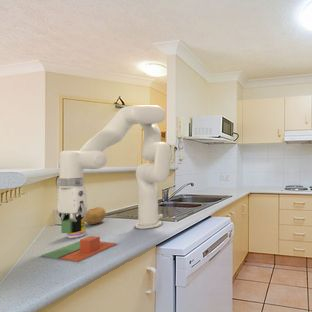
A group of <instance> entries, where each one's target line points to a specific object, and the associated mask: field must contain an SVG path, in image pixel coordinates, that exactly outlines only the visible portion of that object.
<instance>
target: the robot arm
mask: <svg viewBox="0 0 312 312" xmlns="http://www.w3.org/2000/svg"><path fill="white" fill-rule="evenodd" d="M166 117H167V116H166V111H165V110H164V108H163V107H162V106H160V105H151V104H149V105H147V104H132V105H127V106H123V107H121V108H119V110H117V112H116V113H115V114H114V116H113V117H112V118H111V119H110V120H109V121H108V123H107V124H106V125H105V126H104V127H103V128H102V129H101V130H100V131H98V132H96V133H95V134H94V135H93V136H92V137H91V138H89V139H88V140H87V141H86V142H85V143H84V144H83V145H82V146H81V148H80V149H79V150H62V151H60V152H59V156H58V159H59V161H58V164H59V165H58V172H59V174H58V178H59V179H58V180H59V181H58V183H59V184H58V191H57V200H56V208H57V209H56V211H55V212H56V214H57V215H58V216H59V218H60V221H64V220H68V219H70V214H72V215H73V221H74V222H72V233H75V232H79V231H81V220H82V219H83V217H84V216H85V215H86V214H87V211H88V197H87V190H86V186H84V182H85V181H84V170H99V169H102V168H103V167H105V166H106V165H107V163H108V157H107V154H105V153H104V152H103V151H105V150H106V149H107V148H109V147H112V146H114V145H116V144H118V143H120V142H122V140H123V138H124V137H126V135H127V133H128V132H129V131H130V129H132V127H133V126H134V125H138V124H139V125H140V127H141V129H142V130H143V140H142V148H141V158H142V159H143V160H144V161H148V162H145V163H141V164H140V165H139V166H138V167H136V170H135V178H136V184H137V218H138V220H137V222H136V223H135V224H134V227H135V228H136V229H139V230H146V229H153V228H157V227H160V226H162V221H161V220H160V219H162V218H163V217H164V215H163V213H159V189H158V185H157V183H164V182H165V181H166V180H167V179H168V177H169V174H170V168H171V161H172V149H171V146H170V145H169V144H168V143H167V142H166V141H162V131H161V129H160V127H159V126H158V124H160V123H162V122H164V121H165V120H166ZM77 212H78V213H77ZM77 214H78V216H76V215H77Z"/></svg>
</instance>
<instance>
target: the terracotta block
mask: <svg viewBox="0 0 312 312" xmlns="http://www.w3.org/2000/svg"><path fill="white" fill-rule="evenodd" d="M79 241H80V252H84V253H91V252H93V251H96V250H98V249H100V242H101V237H100V236H95V235H89V236H87V237H84V238H81V239H79Z"/></svg>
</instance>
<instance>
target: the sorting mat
mask: <svg viewBox="0 0 312 312" xmlns="http://www.w3.org/2000/svg"><path fill="white" fill-rule="evenodd" d="M116 245H117V243H114V242H106V241H100V249H98V250H96V251H93V252H91V253H84V252H80V240H79V241H76V242H74V243H71V244H68V245H65V246H63V247H61V248H60V247H59V248H58V249H55V250H52V251H49V252H46V253H44V254H42V255H41V257H43V258H44V257H45V258H51V259H58V260H63V261H64V260H65V261H70V262H77V263H79V262H81V261H83V260H85V259H87V258H90V257H92V256H95V255H96V254H98V253H100V252H103V251H105V250H107V249H109V248H112V247H114V246H116Z"/></svg>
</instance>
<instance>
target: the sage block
mask: <svg viewBox="0 0 312 312" xmlns="http://www.w3.org/2000/svg"><path fill="white" fill-rule="evenodd" d="M60 221H61V220H60ZM72 222H74V221H73V218H72V219H68V220H64V221H61V223H60V224H61V225H60V226H61V228H60V229H61V230H60V231H61V234H66V235H67V234H71V233H72Z"/></svg>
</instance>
